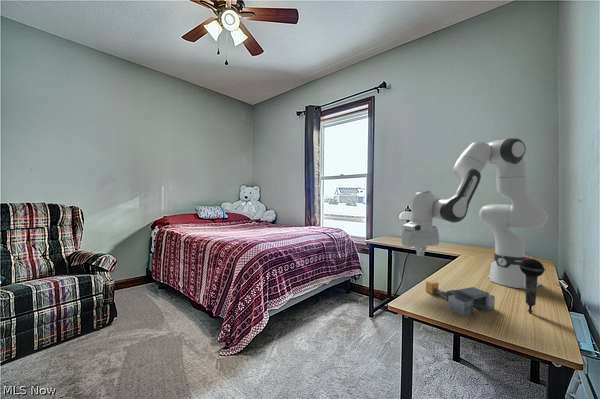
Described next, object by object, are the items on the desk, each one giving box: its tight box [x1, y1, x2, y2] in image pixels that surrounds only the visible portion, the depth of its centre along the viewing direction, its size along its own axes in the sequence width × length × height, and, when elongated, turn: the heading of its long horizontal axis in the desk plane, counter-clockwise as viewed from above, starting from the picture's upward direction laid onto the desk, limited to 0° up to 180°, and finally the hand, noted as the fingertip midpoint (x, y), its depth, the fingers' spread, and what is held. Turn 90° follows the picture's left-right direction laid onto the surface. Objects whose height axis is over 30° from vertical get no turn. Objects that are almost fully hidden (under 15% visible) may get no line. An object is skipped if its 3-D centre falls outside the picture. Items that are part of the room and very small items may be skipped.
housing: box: [447, 286, 496, 318], centre depth 92 cm, size 17×6×7 cm, turn 112°
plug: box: [425, 280, 456, 302], centre depth 102 cm, size 4×14×4 cm, turn 22°
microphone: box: [519, 258, 546, 314], centre depth 90 cm, size 7×7×20 cm
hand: (420, 255), depth 113 cm, fingers closed
